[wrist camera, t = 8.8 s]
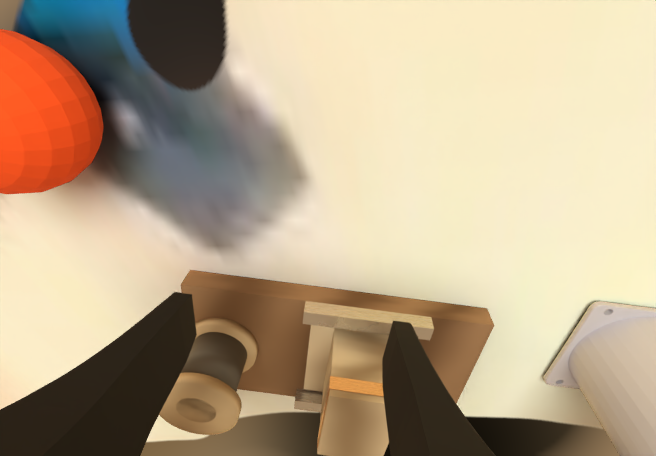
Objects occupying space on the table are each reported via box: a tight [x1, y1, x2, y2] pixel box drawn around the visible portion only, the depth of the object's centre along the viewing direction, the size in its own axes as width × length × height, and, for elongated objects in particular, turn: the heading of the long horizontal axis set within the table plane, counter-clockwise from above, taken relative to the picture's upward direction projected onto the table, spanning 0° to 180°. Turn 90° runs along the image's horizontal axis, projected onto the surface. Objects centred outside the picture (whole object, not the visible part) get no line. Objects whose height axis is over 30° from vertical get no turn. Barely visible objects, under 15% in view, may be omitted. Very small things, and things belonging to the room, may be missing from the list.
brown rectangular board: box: [181, 270, 494, 412], centre depth 26 cm, size 20×10×2 cm, turn 84°
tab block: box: [317, 328, 389, 456], centre depth 23 cm, size 4×6×5 cm
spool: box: [159, 318, 258, 435], centre depth 23 cm, size 5×5×5 cm
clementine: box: [0, 29, 103, 194], centre depth 16 cm, size 8×7×7 cm
